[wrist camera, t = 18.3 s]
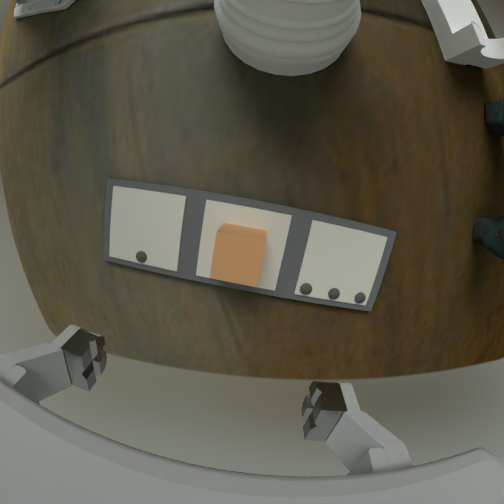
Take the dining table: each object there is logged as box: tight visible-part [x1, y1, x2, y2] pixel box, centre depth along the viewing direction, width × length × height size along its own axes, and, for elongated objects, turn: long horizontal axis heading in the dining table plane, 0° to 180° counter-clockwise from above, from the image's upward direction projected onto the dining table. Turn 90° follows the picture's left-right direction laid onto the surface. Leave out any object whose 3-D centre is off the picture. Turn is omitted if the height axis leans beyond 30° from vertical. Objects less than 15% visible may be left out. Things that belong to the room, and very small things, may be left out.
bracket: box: [421, 0, 504, 69], centre depth 15 cm, size 13×7×8 cm, turn 10°
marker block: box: [210, 223, 266, 287], centre depth 25 cm, size 4×4×4 cm
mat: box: [103, 178, 397, 311], centre depth 27 cm, size 30×9×1 cm, turn 79°
